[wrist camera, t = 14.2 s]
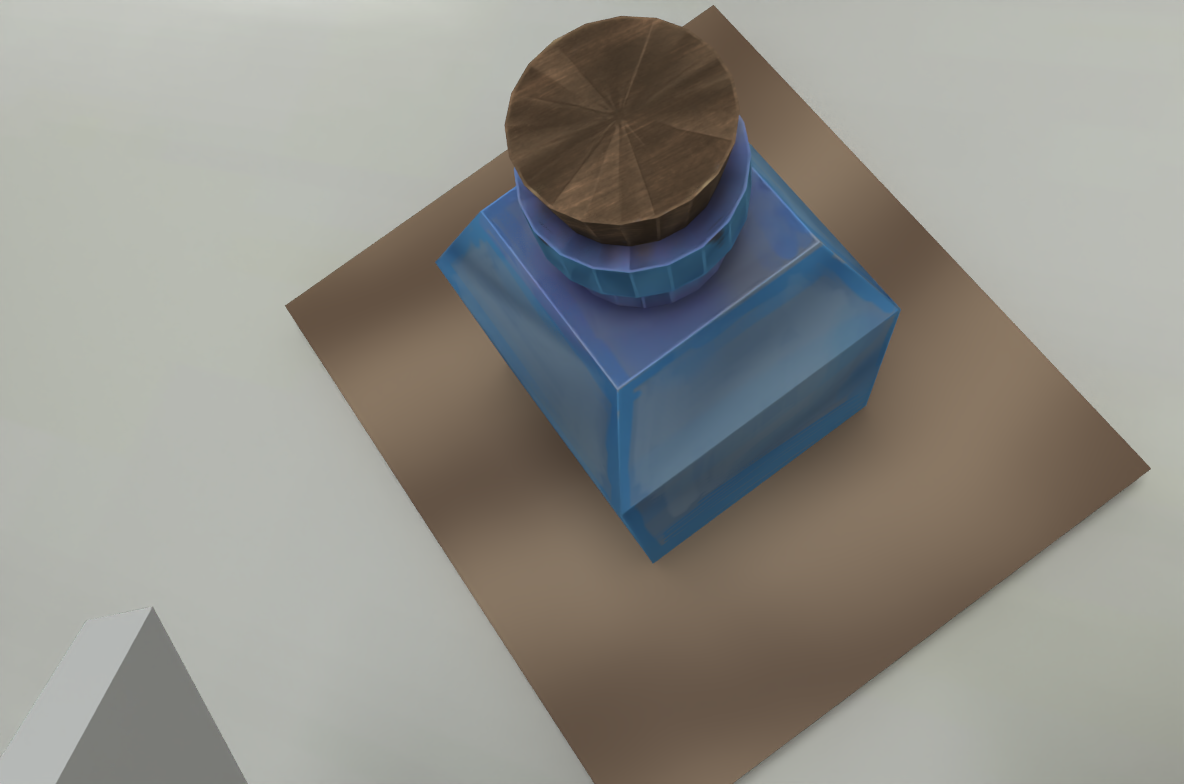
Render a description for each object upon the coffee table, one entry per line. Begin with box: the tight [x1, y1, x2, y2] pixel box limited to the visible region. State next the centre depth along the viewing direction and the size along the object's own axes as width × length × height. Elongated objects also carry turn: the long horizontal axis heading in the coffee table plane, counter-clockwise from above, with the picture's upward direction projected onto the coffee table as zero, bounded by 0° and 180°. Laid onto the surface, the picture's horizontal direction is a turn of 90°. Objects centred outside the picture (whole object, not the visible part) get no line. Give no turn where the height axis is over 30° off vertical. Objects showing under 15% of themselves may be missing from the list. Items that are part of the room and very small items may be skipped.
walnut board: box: [285, 5, 1151, 784], centre depth 26 cm, size 16×14×1 cm
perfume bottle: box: [435, 16, 901, 563], centre depth 20 cm, size 6×6×12 cm
